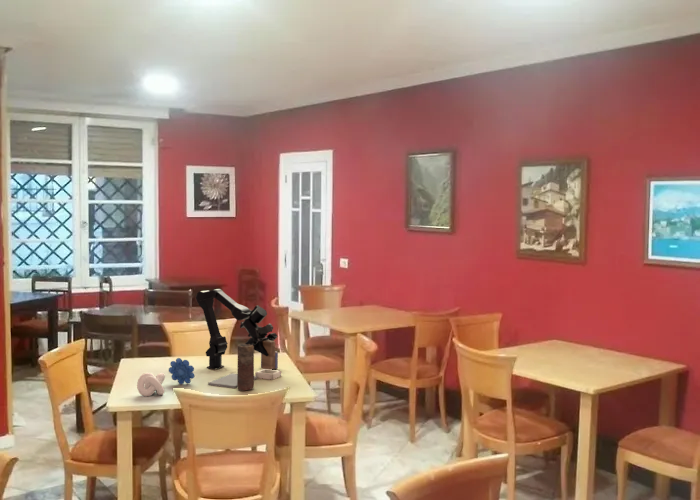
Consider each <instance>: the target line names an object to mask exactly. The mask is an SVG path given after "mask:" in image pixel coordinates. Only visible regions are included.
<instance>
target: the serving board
mask: <svg viewBox="0 0 700 500" xmlns="http://www.w3.org/2000/svg"><path fill="white" fill-rule="evenodd" d="M257 379H259V378H258V376H255V375H254V381H255V380H257ZM207 385H208V386H214V387H223V388H229V389H236V388H237V373H233V372H232V373H229V374H226V375H224V376H222V377H219V378H217V379H215V380H211V381H209V382H207ZM237 389H238V388H237Z"/></svg>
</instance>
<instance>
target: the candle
mask: <svg viewBox="0 0 700 500" xmlns="http://www.w3.org/2000/svg"><path fill="white" fill-rule="evenodd" d="M254 363H255V350H254V346H253V345H250V344H247V345H246V344H245V343H239V344H237V369H236V371H237V373H236V374H237V391H240V392H241V391H247V390H249V391H250V390H253V388H255V380H254V376H255V368H254V367H255V364H254Z"/></svg>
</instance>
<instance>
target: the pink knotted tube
mask: <svg viewBox="0 0 700 500" xmlns="http://www.w3.org/2000/svg"><path fill="white" fill-rule="evenodd" d="M165 379H166V375H165V373H164V372H160V373H157V375H156V376H155V375H154V374H153V373H151V372H145V373H142V374H141V375H140V376H139V378H138V379H137V385H136V386H137V387H136V388H137V391H138V393H139V394H140V395H141V396H143V397H151V396H152V395H153V394H155V392H156V394H157V395H158V396H163V395H164V394H165V388H164V386H163V385H162V384H163V383H164V381H165Z"/></svg>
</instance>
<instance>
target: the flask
mask: <svg viewBox="0 0 700 500" xmlns="http://www.w3.org/2000/svg"><path fill="white" fill-rule="evenodd" d="M260 355H261V357H260V369H262V353H260ZM278 357H279V352H278V351H276V350H275V368H274V369H277V370H278V368H279V367H278V366H279V365H278V362H279V361H278V359H279V358H278Z"/></svg>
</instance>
